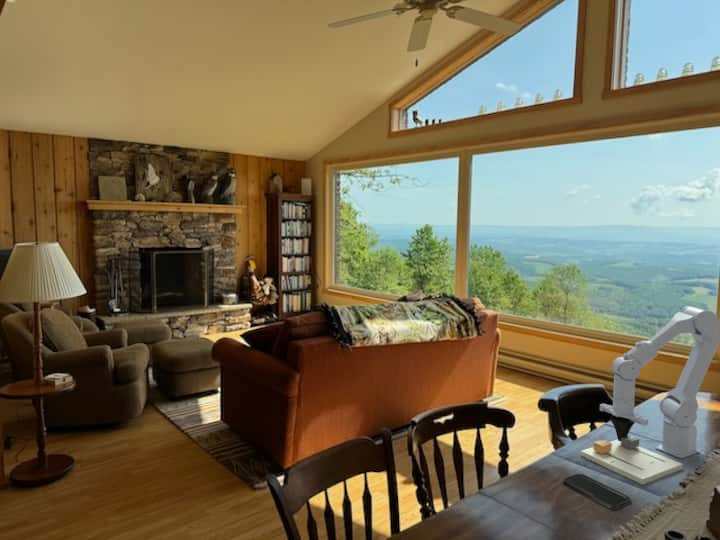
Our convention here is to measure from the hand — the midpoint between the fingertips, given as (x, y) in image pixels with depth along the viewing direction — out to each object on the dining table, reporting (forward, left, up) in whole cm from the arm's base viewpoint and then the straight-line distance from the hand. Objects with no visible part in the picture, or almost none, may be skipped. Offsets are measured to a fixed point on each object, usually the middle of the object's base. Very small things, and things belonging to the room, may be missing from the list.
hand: (621, 440), depth 152 cm
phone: (+29, +13, -3) cm, 32 cm away
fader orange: (+10, +1, -1) cm, 10 cm away
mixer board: (+6, +7, -3) cm, 9 cm away
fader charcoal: (0, +3, -1) cm, 3 cm away
